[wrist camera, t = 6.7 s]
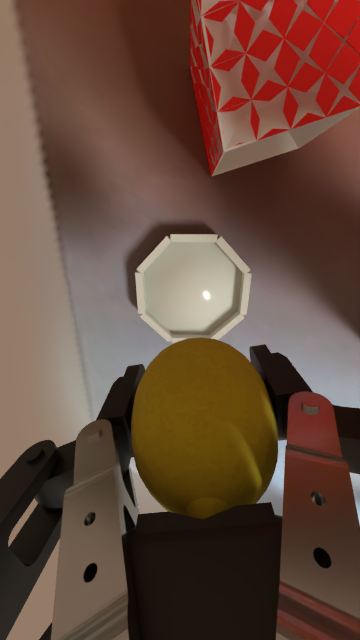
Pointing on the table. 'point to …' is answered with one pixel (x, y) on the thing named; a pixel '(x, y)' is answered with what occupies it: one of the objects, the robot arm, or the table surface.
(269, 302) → the table surface
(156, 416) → the lemon
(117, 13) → the table surface
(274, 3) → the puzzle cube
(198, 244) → the dish
